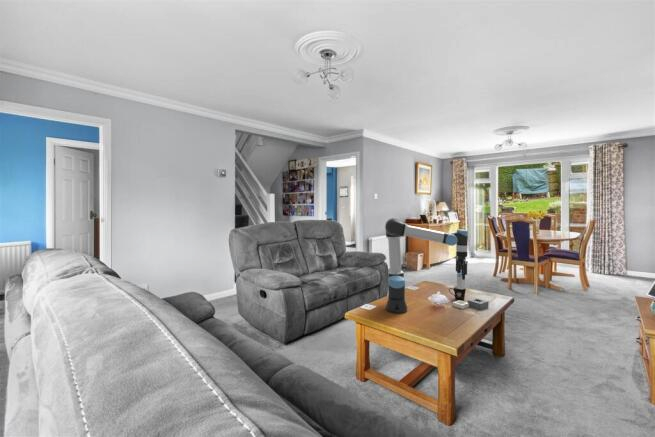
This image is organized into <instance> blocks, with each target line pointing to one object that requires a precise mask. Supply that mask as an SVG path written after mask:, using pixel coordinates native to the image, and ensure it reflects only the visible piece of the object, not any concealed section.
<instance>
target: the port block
mask: <svg viewBox="0 0 655 437" xmlns="http://www.w3.org/2000/svg"><path fill="white" fill-rule="evenodd" d="M467 303H469V307H470V308H474V309H477V310H484V309H486V308H489V300H485V299H482V298H478V297H473V298H470V299H468V300H467Z"/></svg>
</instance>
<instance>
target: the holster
mask: <svg viewBox="0 0 655 437" xmlns="http://www.w3.org/2000/svg"><path fill="white" fill-rule="evenodd" d="M452 307H454V308H458V309H461V310H464V309H466V308H467V309H468V308H469V307H470V306H469V303H468V301H465V300H456V301H453V302H452Z"/></svg>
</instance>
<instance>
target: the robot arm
mask: <svg viewBox="0 0 655 437" xmlns="http://www.w3.org/2000/svg"><path fill="white" fill-rule="evenodd" d="M384 229H385V237H386V238H387V241H388V258H389V259H388V260H389V271H388V272H387V273H388V274H387V275H388V280H387V284H388V286H387V288H388V289H387V290H388V291H387V292H388V295H387V296H388V298H387V302H386V304H385V310H386V311H387V312H389V313H392V314H406V313H407V312H408V306H407V302H406V280H405V272H404V271H403V270H402V253H401V252H402V251H401V238H403V237H409V238H415V239H420V240H423V241H429V242H434V243H439V244H443V245H448V246H451V247H452V246H455V250H456V251H455V256H456V257H455V272H456V274H457V275H459V274H461V284H466V275H468V263H469V262H468V261H467V259H466V258H468V248H469V244H468V243H469V231H468V230H467V229H461V228H460V229H459V228H458V229H457V230H456V231H454V232H453V231H438V230H433V229H428V228H422V227H419V226H412V225H409V224H407V223H405V222H401V220H399V219H398V218H393V217H392V218H389V219H388V220H387V221H386V222H385V225H384ZM457 275H456V276H457Z"/></svg>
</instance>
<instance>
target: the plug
mask: <svg viewBox="0 0 655 437" xmlns="http://www.w3.org/2000/svg"><path fill="white" fill-rule="evenodd" d="M461 274H462V273H461ZM461 274H459V275H456V286H457V288H458V289H461V290H462V289H464V288H466V287H465V284H466V283H465V284H461Z"/></svg>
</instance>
